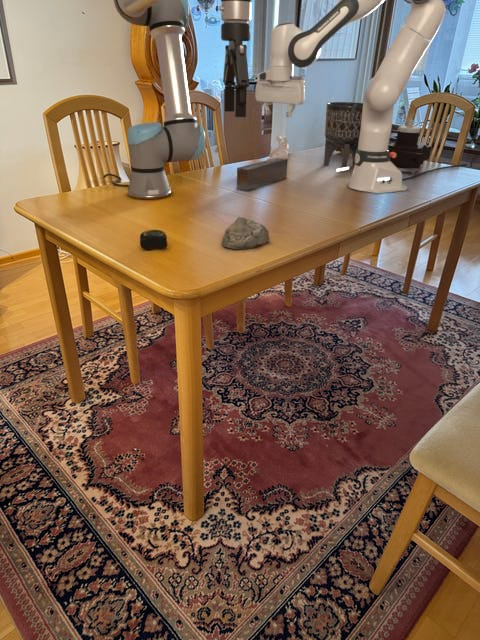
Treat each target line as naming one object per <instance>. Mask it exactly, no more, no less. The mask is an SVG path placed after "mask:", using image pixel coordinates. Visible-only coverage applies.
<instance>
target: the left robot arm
mask: <svg viewBox="0 0 480 640" xmlns="http://www.w3.org/2000/svg"><path fill="white" fill-rule="evenodd" d="M220 1H221V3H220V6H219V7H218V11H220V12H221V13H220V18H221V21H222V22H223V23H221V25H220V39H221V41H224V42H228V44H226V45H225V47H224V48H225V55H224V65H223V76H222V83H223V85H224V112H225V113H226V112H234V117H235V118H246V117H247V89H248V88H249V86H250V81H249V80H250V78H249V67H248V55H247V54H248V53H247V52H248V51H247V49H248V46H247V44H244V43H243V42H250V41H251V25H250V22H251V21H252V0H220ZM113 3H114V7H115V9H116V11H117V13H118V14H119V16H120V17H121V18H122V19H124V20H125V21H126V22H128V23H129V24H131V25H135V26H139V27H148V29H149V35H150V36H151V38H153V39H154V41H155V45H156V52H157V58H158V64H159V72H160V77H161V85H162V92H163V98H164V99H163V100H164V106H165V112H166V113H165V114H166V118H165V119H164V120H163V122H162V123H163V125H162V123H161V122H157V121H155V122H143V123H138V124H135V125H132V126H131V127H129V129H128V130H127V145H128V152H129V153H128V154H129V163H130V177H129V184H124V183H123V184H122V183H120V182H121V181H122V180H123V179H122V178H121V176H118V175H116V174H114V173H106V174H104V175H103V177H102V178H106V177H114V178H117V180H114V181H113V182H112V185H113V186H117V187H123V188H124V187H127V196H128V197H130V198H132V199H137V200H146V201H147V200H161V199H165V198H167V197H170V196H171V195H172V188H171V185H170V184H169V180H168V177H167V174H166V170H165V169H166V167H165V163H166V164H167V163H178V162H190V161H195V160H199V159H200V158H201V157H202V156H203V154H204V152H205V147H206V133H205V130H204V128H203V126H202V125H201V124H198V121H197V117H195V116H194V115H193V114H192V108H191V101H190V94H189V85H188V78H187V70H186V62H185V55H184V47H183V41H182V37H183V36H184V34H185V32H186V28H187V27H188V25H189V22H190V17H189V15H190V5H189V1H188V0H113Z"/></svg>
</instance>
